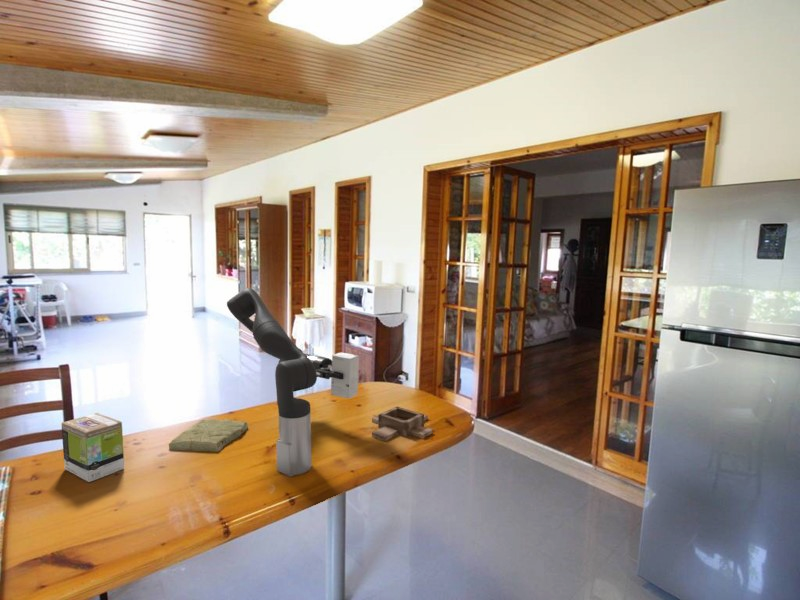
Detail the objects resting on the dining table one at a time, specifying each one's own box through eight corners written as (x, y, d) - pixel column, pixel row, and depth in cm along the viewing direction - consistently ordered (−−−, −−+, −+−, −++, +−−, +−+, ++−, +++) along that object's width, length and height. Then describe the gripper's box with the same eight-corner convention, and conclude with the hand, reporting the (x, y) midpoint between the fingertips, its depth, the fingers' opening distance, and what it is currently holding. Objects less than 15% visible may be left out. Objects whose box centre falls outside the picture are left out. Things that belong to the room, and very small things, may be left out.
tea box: (126, 468, 128) (123, 421, 127) (88, 483, 120) (84, 433, 118) (100, 456, 136) (97, 411, 134) (63, 469, 127) (59, 421, 126)
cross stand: (405, 448, 142) (405, 434, 142) (353, 430, 157) (353, 417, 156) (447, 424, 163) (447, 412, 162) (397, 410, 177) (397, 398, 177)
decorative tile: (168, 450, 141) (167, 440, 140) (202, 426, 161) (202, 417, 160) (222, 454, 139) (221, 443, 138) (250, 428, 159) (249, 419, 158)
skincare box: (330, 395, 154) (330, 355, 152) (340, 390, 159) (340, 351, 157) (349, 399, 150) (349, 358, 148) (359, 394, 155) (359, 354, 153)
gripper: (303, 360, 156) (335, 368, 146) (332, 353, 168) (363, 360, 157) (303, 380, 157) (335, 389, 147) (332, 371, 169) (363, 380, 158)
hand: (349, 374), depth 152 cm, fingers closed on skincare box, 6 cm apart
